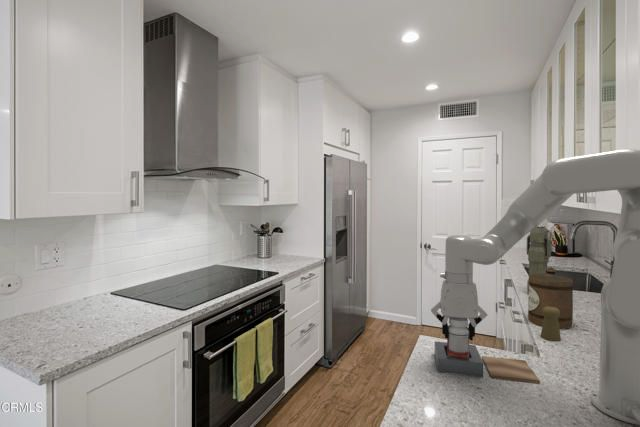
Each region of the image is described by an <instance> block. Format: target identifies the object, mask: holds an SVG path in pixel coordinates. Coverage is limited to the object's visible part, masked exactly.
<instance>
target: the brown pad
mask: <svg viewBox="0 0 640 427" xmlns="http://www.w3.org/2000/svg"><path fill="white" fill-rule="evenodd" d="M481 359H482V361H483V365H484V366H485V369H486V370H487V372H488V374H489V377H490V378H491V379H495V378H496V379H497V380H504V379H505V381H506V380H507V381H512V380H513V382H521V381H522V382H523V383H530V382H532V383H531V384H539V383H540V384H541V380H540V379H539V377H538V376H537V375H536V373H535V372H534V371H533V369H532V367H531V366H530V365H529V364H528V363H527V361H526V360H524V359H516V358H514V359H513V358H506V357H505V358H504V357H497V356H495V357H493V356H486V355H481Z"/></svg>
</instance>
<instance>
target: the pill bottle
mask: <svg viewBox="0 0 640 427" xmlns="http://www.w3.org/2000/svg"><path fill="white" fill-rule="evenodd" d="M468 321H469V319H468V318H454V317H449V319H448V338H446V343H447V354H448V355H449V356H457V357H467V358H468V357H469V345H470V339H469V333H470V332H469V328H468V324H469V322H468Z"/></svg>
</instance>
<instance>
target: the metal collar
mask: <svg viewBox="0 0 640 427" xmlns="http://www.w3.org/2000/svg"><path fill="white" fill-rule="evenodd" d="M434 358H435V365H436V369H437V373H443V374H454V375H461V376H462V375H463V376H469V377H470V376H471V377H477V378H478V377H479V378H484V362H483V360H482V356H481V355H480V352H479V351H478V348H477V346H476V345H475V344H469V357H468V358H467V357H457V356H449V355H448V354H447V341H446V342H445V341H434Z"/></svg>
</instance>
